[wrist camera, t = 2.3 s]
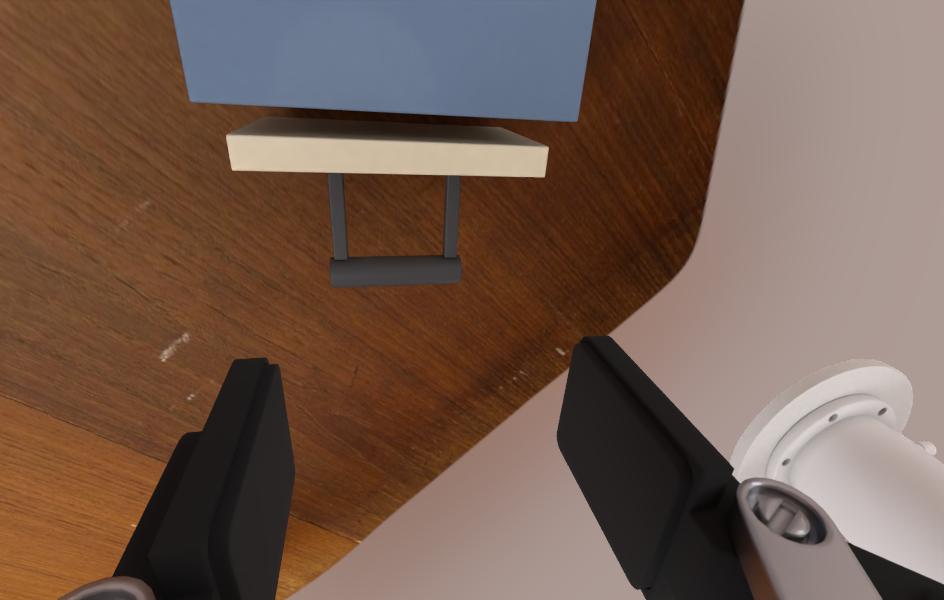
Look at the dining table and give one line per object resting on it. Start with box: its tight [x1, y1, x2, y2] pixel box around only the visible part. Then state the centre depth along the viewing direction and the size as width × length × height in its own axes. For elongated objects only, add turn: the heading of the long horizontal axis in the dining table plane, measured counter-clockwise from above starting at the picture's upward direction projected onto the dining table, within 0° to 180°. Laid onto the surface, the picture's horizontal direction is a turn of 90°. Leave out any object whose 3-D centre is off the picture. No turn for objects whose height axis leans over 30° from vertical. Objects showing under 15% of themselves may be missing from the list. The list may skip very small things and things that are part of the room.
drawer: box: [226, 116, 549, 288], centre depth 18 cm, size 19×12×7 cm, turn 176°
